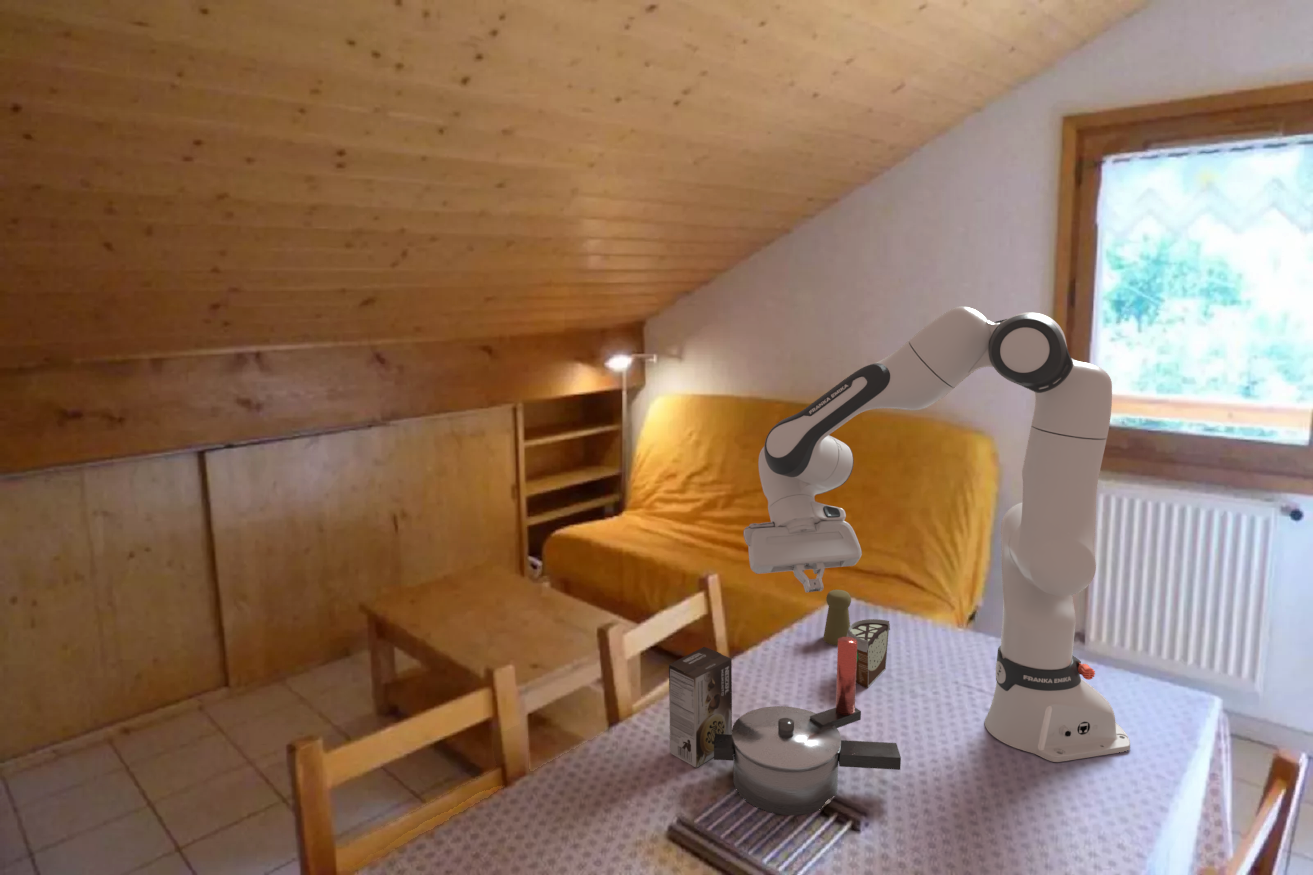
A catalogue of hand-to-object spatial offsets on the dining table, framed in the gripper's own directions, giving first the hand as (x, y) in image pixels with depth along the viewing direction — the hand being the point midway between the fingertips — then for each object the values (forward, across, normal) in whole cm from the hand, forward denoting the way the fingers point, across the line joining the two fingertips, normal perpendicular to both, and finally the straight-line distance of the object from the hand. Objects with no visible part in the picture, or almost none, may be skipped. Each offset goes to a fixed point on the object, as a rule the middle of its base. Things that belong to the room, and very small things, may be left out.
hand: (814, 590), depth 143 cm
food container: (+8, +16, +26) cm, 31 cm away
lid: (+24, -9, 0) cm, 25 cm away
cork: (-3, +18, +37) cm, 41 cm away
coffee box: (+21, -22, +12) cm, 33 cm away
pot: (+30, -9, +4) cm, 32 cm away
